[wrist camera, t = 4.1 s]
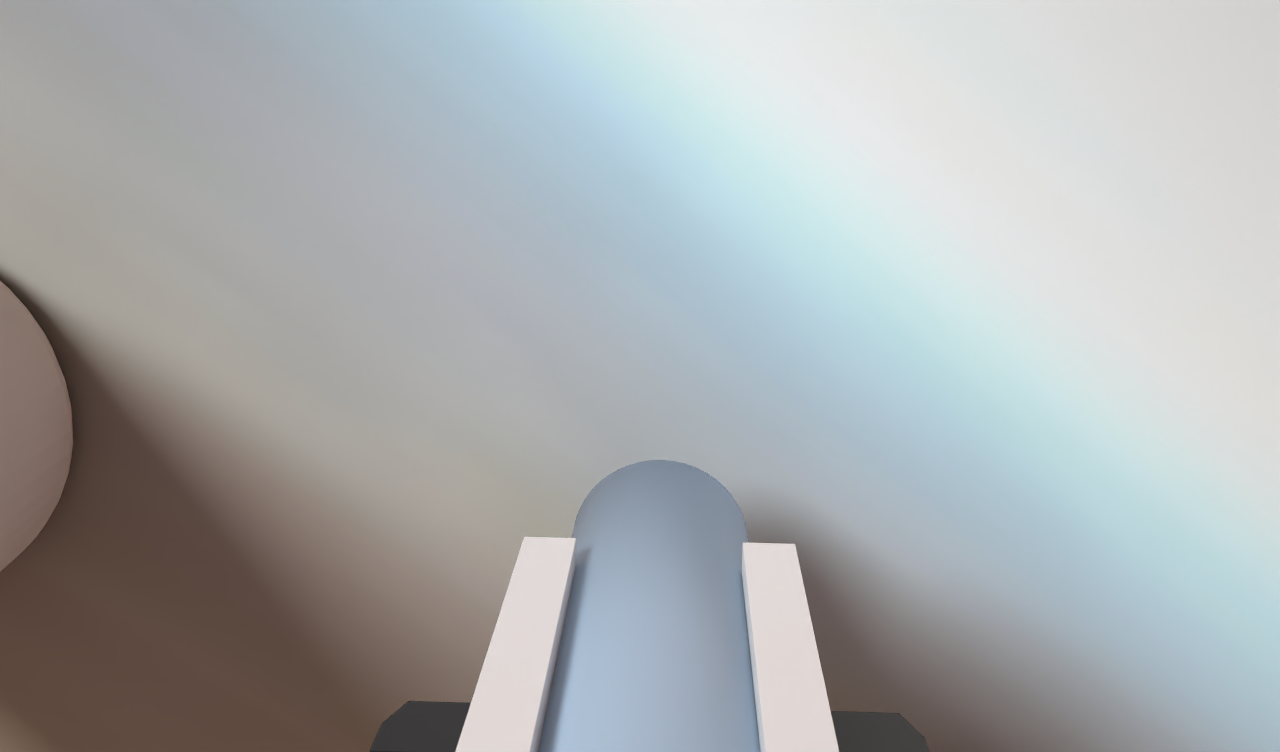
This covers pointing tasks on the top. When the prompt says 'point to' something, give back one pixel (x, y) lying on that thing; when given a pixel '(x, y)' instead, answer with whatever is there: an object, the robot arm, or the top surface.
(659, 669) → the peg
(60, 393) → the coffee cup
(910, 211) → the top surface
